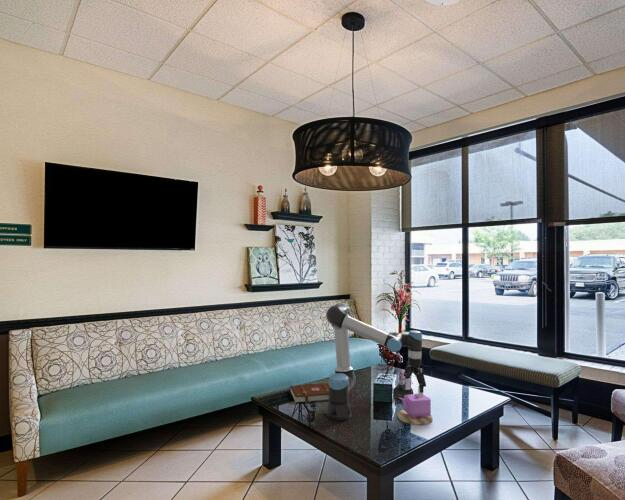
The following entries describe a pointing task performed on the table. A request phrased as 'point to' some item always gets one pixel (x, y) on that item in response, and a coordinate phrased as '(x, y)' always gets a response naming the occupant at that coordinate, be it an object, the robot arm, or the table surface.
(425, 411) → the teapot
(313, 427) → the table surface
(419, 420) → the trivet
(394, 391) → the camera
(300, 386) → the book
